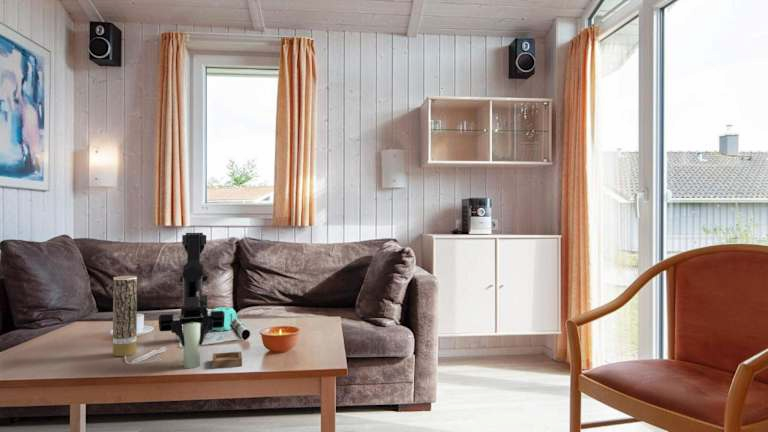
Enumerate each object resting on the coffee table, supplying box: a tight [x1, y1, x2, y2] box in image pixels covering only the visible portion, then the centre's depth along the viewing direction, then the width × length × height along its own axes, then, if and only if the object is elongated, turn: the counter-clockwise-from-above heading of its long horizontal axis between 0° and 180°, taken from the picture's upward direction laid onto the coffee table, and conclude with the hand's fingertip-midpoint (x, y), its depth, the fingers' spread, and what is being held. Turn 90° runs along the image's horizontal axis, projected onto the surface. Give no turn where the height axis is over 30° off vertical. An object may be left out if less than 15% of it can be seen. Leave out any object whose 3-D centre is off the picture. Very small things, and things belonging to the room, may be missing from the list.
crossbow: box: [124, 346, 167, 365], centre depth 158 cm, size 16×13×2 cm
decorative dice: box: [208, 306, 238, 332], centre depth 198 cm, size 8×8×8 cm
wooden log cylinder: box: [112, 275, 138, 357], centre depth 161 cm, size 7×7×25 cm
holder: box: [211, 351, 243, 369], centre depth 152 cm, size 8×8×2 cm
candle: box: [183, 321, 201, 369], centre depth 149 cm, size 5×5×13 cm
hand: (191, 344), depth 147 cm, fingers closed on candle, 5 cm apart
